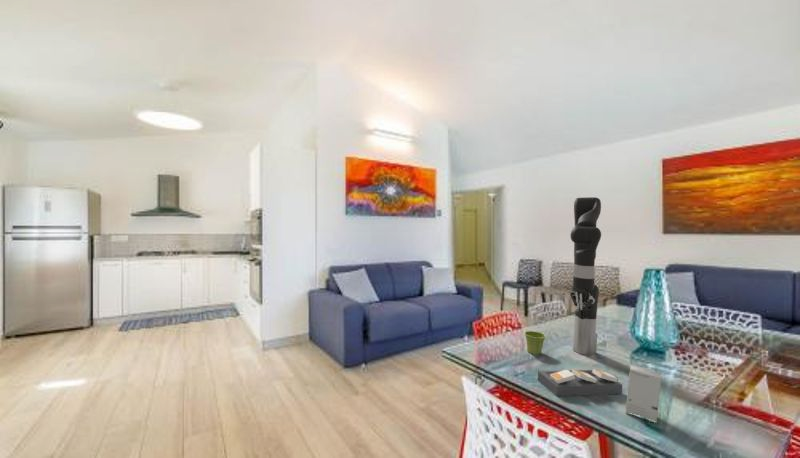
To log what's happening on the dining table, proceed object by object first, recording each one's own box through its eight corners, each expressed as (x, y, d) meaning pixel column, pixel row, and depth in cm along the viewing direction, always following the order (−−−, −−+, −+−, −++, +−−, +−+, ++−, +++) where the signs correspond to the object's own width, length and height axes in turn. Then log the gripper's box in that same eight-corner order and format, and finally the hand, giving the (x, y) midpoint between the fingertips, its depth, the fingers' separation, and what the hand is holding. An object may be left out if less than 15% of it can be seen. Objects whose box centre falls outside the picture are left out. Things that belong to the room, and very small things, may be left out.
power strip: (610, 378, 132) (611, 367, 132) (636, 393, 121) (637, 381, 120) (537, 379, 128) (538, 368, 128) (556, 396, 116) (557, 383, 116)
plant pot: (547, 357, 151) (548, 338, 151) (525, 354, 153) (526, 336, 153) (542, 349, 160) (543, 332, 160) (522, 347, 162) (523, 330, 162)
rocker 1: (567, 372, 123) (566, 369, 123) (575, 378, 118) (574, 374, 118) (550, 378, 122) (549, 374, 122) (557, 383, 117) (557, 379, 117)
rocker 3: (607, 376, 125) (608, 372, 125) (616, 382, 121) (617, 378, 121) (591, 372, 124) (593, 368, 124) (600, 377, 120) (601, 373, 120)
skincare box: (625, 414, 107) (628, 368, 106) (627, 406, 111) (630, 363, 111) (658, 425, 101) (661, 377, 101) (659, 416, 106) (661, 371, 106)
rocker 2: (587, 377, 124) (588, 373, 124) (595, 383, 120) (597, 379, 120) (571, 372, 123) (572, 368, 123) (579, 378, 119) (580, 374, 119)
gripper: (604, 279, 126) (602, 323, 127) (580, 273, 139) (578, 313, 140) (587, 279, 125) (585, 324, 126) (564, 273, 138) (562, 313, 139)
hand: (581, 318), depth 133 cm, fingers closed
